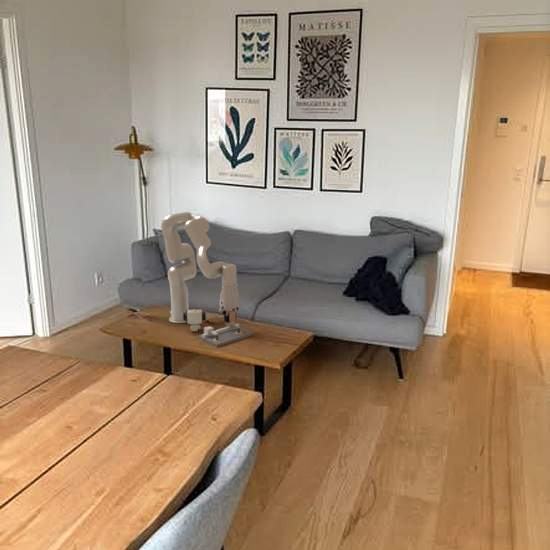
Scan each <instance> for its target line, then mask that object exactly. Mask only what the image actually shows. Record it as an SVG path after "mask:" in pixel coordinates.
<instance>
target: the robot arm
mask: <svg viewBox="0 0 550 550" xmlns="http://www.w3.org/2000/svg"><path fill="white" fill-rule="evenodd" d="M160 228H161V232H162V236H163V238H164V239H163V240H164V245H165V252H166V256H167V259H168V261H169V262H170V263H171V264H175V265H173V266H171V267H170V268H168V271H167V279H168V283H169V290H170V292H169V293H170V309H171V310H170V311H169V313H170V314H171V316H170V317H168V318H169V319H168V321H169V322H170V323H173V324H185V323H186V321H184V320H183V313H186V310H190V309H189V290H188V286H187V285H186V283H185V281H187V280H190V279H193V278H195V277H196V275H197V271H198V270H197V266H198V269H199V270H200V271H201V274H203V276H204V277H205V278H206V279H210V280H211V279H216V278H218V277H221V291H220V293H219V294H220V295H219V309H218V312H219V313H221V314H223V321H224V322H225V323H226V322H227V323H229V315H228V311H229V310H230V309H232V310H234V311H235V315H236V316H237V313H238V310H239V309H240V308H241V307H242V305H241V303H240V296H239V295H240V294H239V291H238V289H237V287H238V286H239V283H237V266H236V264H235V263H234V264H233V263H227V262H225V261H221V260H218V261H216V262H213V263H210V260H209V259H208V256H207V251H208V248H210V246H211V245H212V241H211V239H210V238H209V236H208V235H207V232H208V231H209V230H210V223H209V221H208V219H206V218H205V217H203V216H201V215H199V214H195V213H192V212H190V211H184V212H183V211H182V212H179V213H178V212H177V213H173V214H169V215H167V216H165V217H163V219H162V220H161V226H160ZM182 229H184V231H185V232H186V234H187V236H188V237H189V239H190V241H191V242H192V244H193V246H194V248H195V250H196V258H195V252H194V249H193V247H192V245H190V244H189V243H187V242H183V243H182V240H181V236H180V234H179V233H178V230H182ZM177 263H179V264H177Z"/></svg>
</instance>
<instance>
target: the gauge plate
mask: <svg viewBox="0 0 550 550" xmlns="http://www.w3.org/2000/svg"><path fill="white" fill-rule="evenodd" d="M235 325H237V326H239V327H240V332H238V329H237V328H234V327H227V326H225V327H222V328H218V329H216V330H215V328H214V327H212V326H210V325H209V326H205V327H203V333H202V334H199V335H197V339H198V338H200V339H202V340H204V341H206V342H208V343H207V344H209V343H210V344H209V345H211V344H212V345H211V346H213V345H214V346H213V347H215V346H216V347H215V348H219V347H218V346H220V345H223V346H225V345H224V344H226V345H228V344H227V343H229V344H231V342H232V343H235V342H237V340H238V341H240V339H241V340H244V339H246V338H245V337H247V338H249V336H250V337H252V335H253V336H254V335H255V332H253V331H251V330H249V329H246V328H244V327H241V326H240V323H235ZM243 338H244V339H243ZM200 339H199V340H200ZM202 340H201V341H202ZM204 341H203V342H204ZM234 341H235V342H234ZM206 342H205V343H206ZM220 347H221V346H220Z"/></svg>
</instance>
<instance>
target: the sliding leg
mask: <svg viewBox="0 0 550 550" xmlns="http://www.w3.org/2000/svg"><path fill="white" fill-rule="evenodd" d="M228 315H229V323H227V322H225V327H234V328H237V329H238V332H240V327H241V326H240V327H239V326H237V325H235V324H236V321H237V314H236V315H235V311H234V310H232V309H230V310H229V311H228Z"/></svg>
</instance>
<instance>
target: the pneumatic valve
mask: <svg viewBox="0 0 550 550" xmlns="http://www.w3.org/2000/svg"><path fill="white" fill-rule="evenodd" d="M183 320H184V321H186V325H187V324H189V325H190V327H189V328H190V331H191V332H199V331H198V329H199V330H201V325H200V324H204V321H207V312H206V311H204V309H196V308H193V309H189V310H186V313H183Z"/></svg>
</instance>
